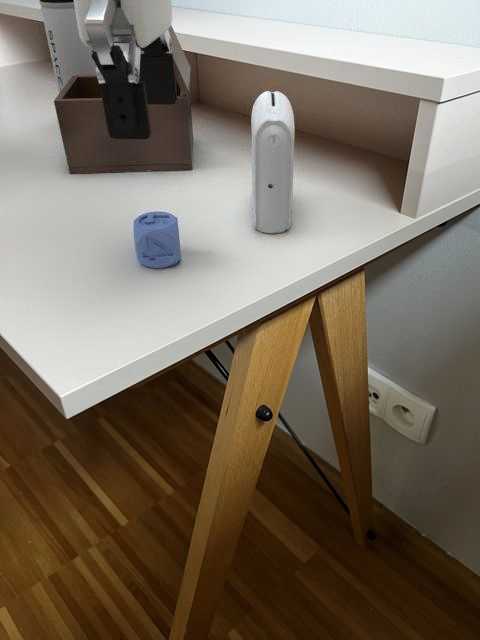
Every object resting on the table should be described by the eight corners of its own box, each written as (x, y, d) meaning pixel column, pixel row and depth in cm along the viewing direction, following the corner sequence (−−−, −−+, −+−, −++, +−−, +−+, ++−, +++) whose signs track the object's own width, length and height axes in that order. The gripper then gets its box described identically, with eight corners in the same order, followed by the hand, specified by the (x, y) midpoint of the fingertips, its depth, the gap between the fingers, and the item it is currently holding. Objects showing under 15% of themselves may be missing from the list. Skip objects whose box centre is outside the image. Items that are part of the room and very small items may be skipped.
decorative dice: (181, 267, 53) (177, 228, 50) (138, 270, 52) (132, 231, 50) (180, 247, 56) (176, 209, 53) (139, 250, 55) (134, 212, 53)
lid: (108, -64, 57) (159, -91, 56) (122, -68, 66) (166, -92, 65) (183, 95, 66) (227, 74, 65) (185, 70, 76) (224, 52, 75)
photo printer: (293, 234, 58) (297, 109, 50) (251, 234, 58) (250, 109, 50) (289, 194, 66) (292, 81, 58) (252, 194, 66) (251, 81, 58)
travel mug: (106, 118, 90) (81, -32, 77) (108, 130, 85) (82, -28, 72) (66, 121, 88) (34, -31, 76) (66, 134, 83) (31, -27, 71)
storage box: (69, 173, 71) (53, 100, 66) (85, 141, 81) (72, 75, 75) (192, 170, 72) (186, 97, 67) (193, 138, 82) (188, 73, 76)
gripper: (95, -145, 43) (130, 92, 54) (-9, -171, 29) (65, 153, 40) (191, -147, 42) (207, 93, 53) (130, -174, 29) (168, 155, 40)
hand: (146, 119), depth 47 cm, fingers open, 9 cm apart
